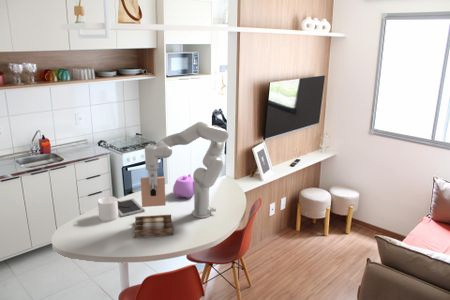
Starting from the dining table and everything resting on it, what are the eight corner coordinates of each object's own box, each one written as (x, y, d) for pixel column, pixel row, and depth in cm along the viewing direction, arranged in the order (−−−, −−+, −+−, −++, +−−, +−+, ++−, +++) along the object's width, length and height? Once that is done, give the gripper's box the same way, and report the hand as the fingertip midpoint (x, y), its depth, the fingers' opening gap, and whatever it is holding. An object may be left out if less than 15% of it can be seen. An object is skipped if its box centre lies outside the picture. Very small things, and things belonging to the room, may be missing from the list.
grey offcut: (164, 231, 234) (163, 222, 233) (163, 234, 231) (163, 225, 229) (143, 232, 233) (143, 223, 231) (143, 235, 229) (142, 226, 228)
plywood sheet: (165, 203, 242) (164, 176, 236) (165, 205, 239) (164, 178, 234) (142, 205, 239) (140, 177, 234) (142, 207, 237) (140, 179, 231)
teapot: (204, 191, 293) (204, 172, 289) (196, 201, 275) (196, 182, 270) (179, 187, 298) (179, 169, 293) (170, 198, 279) (169, 178, 274)
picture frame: (110, 206, 266) (121, 218, 250) (110, 202, 265) (121, 214, 249) (133, 201, 275) (144, 212, 258) (132, 197, 274) (144, 208, 257)
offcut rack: (171, 220, 248) (171, 214, 247) (172, 235, 230) (172, 228, 229) (135, 222, 244) (135, 216, 243) (134, 237, 227) (134, 231, 225)
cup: (118, 212, 256) (117, 195, 253) (118, 220, 245) (117, 203, 242) (99, 213, 254) (98, 196, 250) (98, 222, 243) (97, 204, 239)
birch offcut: (163, 226, 240) (163, 217, 239) (163, 229, 237) (163, 220, 235) (143, 227, 238) (143, 218, 236) (143, 230, 234) (143, 221, 233)
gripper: (158, 170, 225) (160, 199, 230) (158, 161, 240) (159, 189, 245) (145, 171, 223) (147, 200, 229) (145, 161, 238) (147, 189, 244)
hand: (153, 194), depth 237 cm, fingers closed on plywood sheet, 2 cm apart
